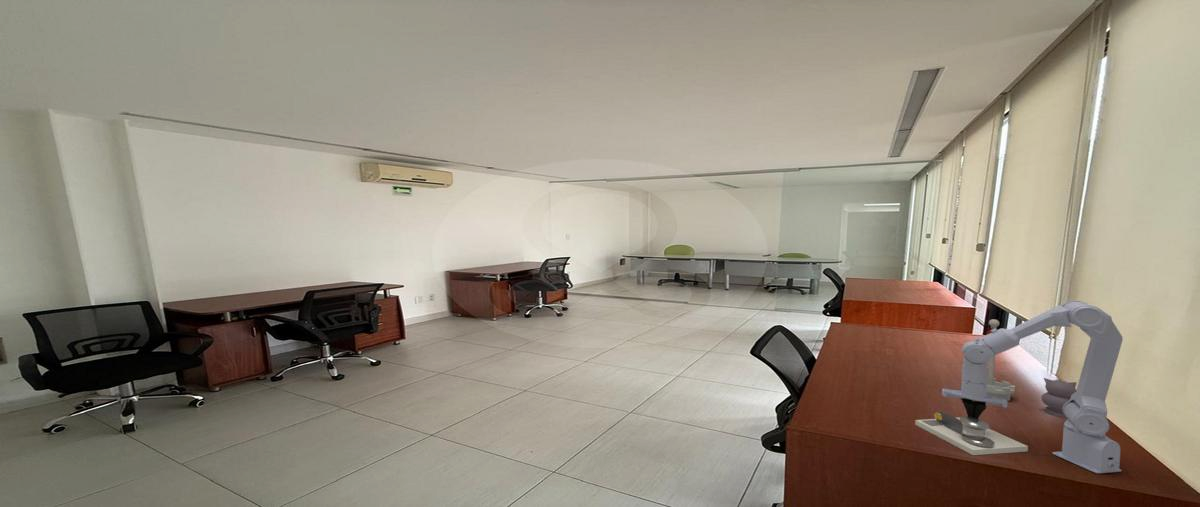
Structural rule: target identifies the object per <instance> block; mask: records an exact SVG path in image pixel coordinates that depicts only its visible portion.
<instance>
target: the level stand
mask: <svg viewBox="0 0 1200 507" xmlns="http://www.w3.org/2000/svg"><path fill="white" fill-rule="evenodd" d="M956 418H957V419H959V420H960V417H956ZM914 425H915V426H917V427H919V428H920V429H923V430H924V431H927V432H928V433H930V434H932V435H934V436H936V437H938V438H939V439H941V440H943V441H946V442H947V443H948V444H951V445H953V446H955V447H956V448H959V449H961V451H965V452H966V453H967V454H970V455H972V456H980V455H981V456H983V455H995V454H996V455H998V454H1010V453H1021V452H1022V453H1023V452H1026V453H1027V452H1028V451H1029V446H1028V445H1026V444H1024V443H1022V442H1020V441H1017V440H1015V439H1013V438H1011V437H1009V436H1006V435H1004V434H1002V433H999V432H998V431H995V430H993V429H991V428H989V429H986V433H985V437H987V438H989V439H991V440H992V441H994V446H993V447H984V446H979V445H975V444H972V443H970V442H968V441H966V440H964V439H963V438H962V437H961V435H962V433H960V432H958V431H956V430H954V429H953V428H951V427H949V426H947V425H945V424H943V423H941V422H939V421H937V420H936V418H932V419H931V418H929V419H928V418H927V419H915V420H914Z"/></svg>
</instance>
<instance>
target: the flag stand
mask: <svg viewBox="0 0 1200 507" xmlns="http://www.w3.org/2000/svg"><path fill="white" fill-rule="evenodd" d="M988 325H989V326H990V329H989V330H988V331H987V332H986V333H985V334H986V335H988V334H990V333H992V331H991V330H993V329H997V327H999V326H1000V321H999V320H998V319H993V318H992V319H990V320H989V321H988ZM997 330H998V329H997ZM995 361H996V355H995V356H991V359H990V360H989V361H988V377H987V395H988V396H992V397H996V398H1001V399H1006V401H1007V402H1009V401H1011V397H1012V396H1011V395H1014V394H1015V393H1016V386H1015V385H1013V384H1012V383H1011V382H1010V381H1006V380H1002V381H1001V382H999V381H996V380H997V379H996V378H995V367H996V362H995Z"/></svg>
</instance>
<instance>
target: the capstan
mask: <svg viewBox="0 0 1200 507" xmlns="http://www.w3.org/2000/svg"><path fill="white" fill-rule="evenodd" d="M957 418H958V417H954V416H952V415H951V414H948V413H946V412H944V411H940V410H938V411H935V413H934V419H936V420H937V421H939V422H941V423H943V424H945V425H947V426H949V427H951V428H953V429H954V430H956V431H958V432H960V433H962V435H961V437H962V438H963V439H964V440H966V441H968V442H970V443H972V444H975V445H979V446H984V447H993V446H994V441H992V440H991V439H989V438H987V437H985V433H986V429H990V424H989V423H988V422H986V421H984V420H983V419H980V418H978V419H976V418H971V417H968V416H961V417H959V418H960V420H959V419H957Z"/></svg>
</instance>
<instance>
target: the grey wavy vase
mask: <svg viewBox="0 0 1200 507" xmlns="http://www.w3.org/2000/svg"><path fill="white" fill-rule="evenodd" d="M1043 380H1044V382H1045V390H1046V392H1044V393H1042V395H1041V397H1040V398H1041V402H1042V403H1043V404H1044V405H1045V406H1046V407H1045V413H1046V414H1049V415H1051V416H1054V417H1057V418H1062V419H1068V418H1067V417H1066V416H1065V415H1064V413H1063V410H1062V408H1063V405H1064V404H1065V403H1067V402H1068V401H1069V400H1070V398H1071V395H1072V394H1073V393H1075V392H1076V390H1077V387H1076V386H1077V385H1078V384H1077V382H1076V381H1075V382H1073V381H1072V382H1071V381H1070V382H1067V381H1064V380H1059V379H1053V380H1052V379H1049V378H1046V377H1043Z"/></svg>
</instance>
